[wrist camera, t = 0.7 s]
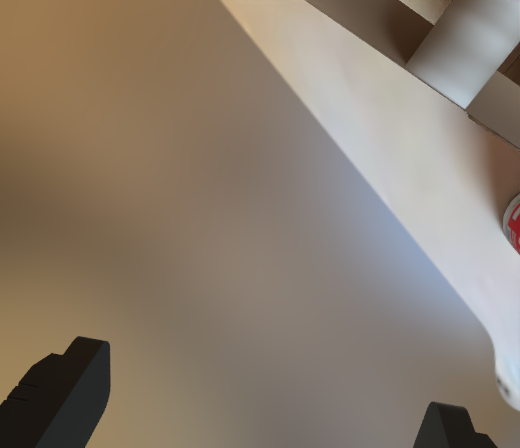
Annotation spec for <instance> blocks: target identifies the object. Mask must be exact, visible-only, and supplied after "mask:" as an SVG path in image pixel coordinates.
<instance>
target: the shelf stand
mask: <svg viewBox="0 0 520 448" xmlns="http://www.w3.org/2000/svg"><path fill="white" fill-rule="evenodd" d="M305 1H307V2H308V3H310V4H311V5H313V6H314V7H315V8H317V9H318V10H320V11H321V12H323V13H324V14H326V15H327V16H328V17H330V18H331V19H333V20H334V21H336V22H337V23H339V24H340V25H341V26H343V27H344V28H346V29H347V30H349V31H350V32H352V33H353V34H354V35H356V36H357V37H359V38H360V39H362V40H363V41H365V42H366V43H367V44H369V45H370V46H372V47H373V48H375V49H376V50H378V51H379V52H380V53H382V54H383V55H385V56H386V57H388V58H389V59H391V60H392V61H393V62H395V63H396V64H398V65H399V66H401V67H402V68H404V69H405V70H407V71H408V72H409V73H411V74H412V75H414V76H415V77H417V78H418V79H420V80H421V81H422V82H424V83H425V84H427V85H428V86H430V87H431V88H433V89H434V90H435V91H437V92H438V93H440V94H441V95H443V96H444V97H446V98H447V99H448V100H450V101H451V102H453V103H454V104H456V105H457V106H459V107H460V108H461V109H463V110H464V111H466V112H467V113H469V114H470V116H469V118H470V119H471V120H473V121H474V122H476V123H477V124H479V125H480V126H482V127H483V128H485V129H486V130H487V131H489V132H490V133H492V134H493V135H495V136H497V137H498V138H500V139H501V140H503V141H504V142H506V143H507V144H509V145H510V146H512V147H514V148H515V149H517V150H518V151H520V55H519V57H518V58H517V59H516V60H515V61H514V63H513V64H512V65H511V66H510V68H509V69H508V70H507V71H506V72H505V74H504V75H503V74H502V73H500V72H499V71H497V69H498V68H499V66H500V65H501V64H502V63H503V62H504V60H505V59H506V58H507V57H508V55H509V54H510V53H511V52H512V50H513V49H514V48H515V47H516V45H517V44H518V43H519V42H520V0H452V2H451V3H450V4H449V6H448V7H447V9H446V10H445V11H444V13H443V14H442V16H441V17H440V18H439V20H438V21H437V23H436V24H435V25H433V24H431V23H430V22H429V21H427V20H426V19H424V18H423V17H422V16H420V15H419V14H417V13H416V12H415V11H413V10H412V9H410V8H409V7H408V6H406V5H405V4H403V3H402V2H401V1H399V0H305Z"/></svg>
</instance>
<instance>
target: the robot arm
mask: <svg viewBox="0 0 520 448" xmlns="http://www.w3.org/2000/svg"><path fill="white" fill-rule="evenodd" d="M109 394H110V344H109V342H107V341H102V340H97V339H92V338H86V337H80V336H78V337H77V338H76V339H74V341H73V342H72V343H71V345H70V346H69V347H68V349H67V350H66V352H65V353H64V354H63V355H58V354H53V353H51V354H50V355H48V356H47V357H45V358H44V359H42V360H41V361H39V362H37V363H36V364H34V365H33V366H32V367H31V368H30V369H29V370H28V372H27V373H26V374H25V375H24V377H23V378H22V379H21V380H20V381H19V384H18V386H15V388H14V389H13V390H12V392H11V393H10V394H9V395H8V397H7V400H4V401H3V402H2V404H1V405H0V448H85V446H86V444H87V442H88V441H89V439H90V437H91V435H92V433H93V431H94V429H95V428H96V426H97V424H98V422H99V420H100V418H101V417H102V414H103V413H104V411H105V408H106V405H107V402H108V399H109ZM413 448H497V446H496V445H495V444H494V443H493V441H492V440H491V439H490V438H489V436H488V435H487V434H482V433H476V432H475V430H474V427H473V425H472V422H471V419H470V416H469V414H468V411H467V410H466V408H464V407H461V406H455V405H450V404H444V403H439V402H431V403H430V404H429V406H428V408H427V411H426V414H425V416H424V419H423V422H422V424H421V427H420V430H419V432H418V435H417V438H416V440H415V443H414V446H413Z"/></svg>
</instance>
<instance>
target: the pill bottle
mask: <svg viewBox="0 0 520 448" xmlns="http://www.w3.org/2000/svg"><path fill="white" fill-rule="evenodd" d="M503 231H504V234H505V236H506V238H507V240H508V242H509V243H510V244H511V245H512V247H513V248H514V249H515V250H516V251H517V252H518V254H519V255H520V194H519V195H517V196H516V197H515V198H514V199H513V200H512V201H511V203H510V204H509V206H508V207H507V209H506V211H505V214H504V217H503Z"/></svg>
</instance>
